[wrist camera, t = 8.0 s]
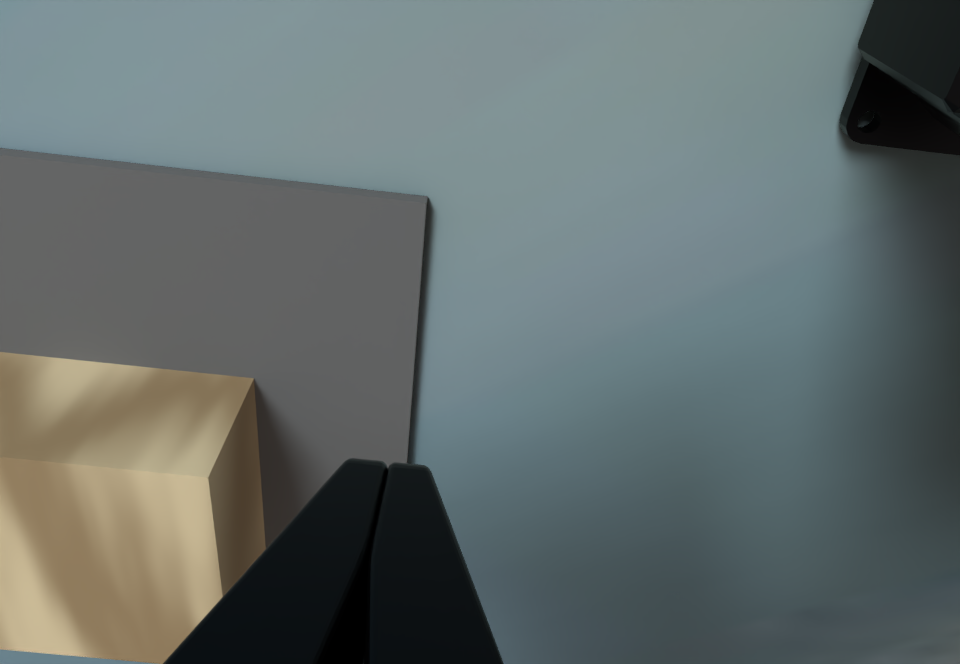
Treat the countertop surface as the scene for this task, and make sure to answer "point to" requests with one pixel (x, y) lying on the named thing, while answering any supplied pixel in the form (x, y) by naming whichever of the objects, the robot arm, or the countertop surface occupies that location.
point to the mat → (226, 297)
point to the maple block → (121, 504)
